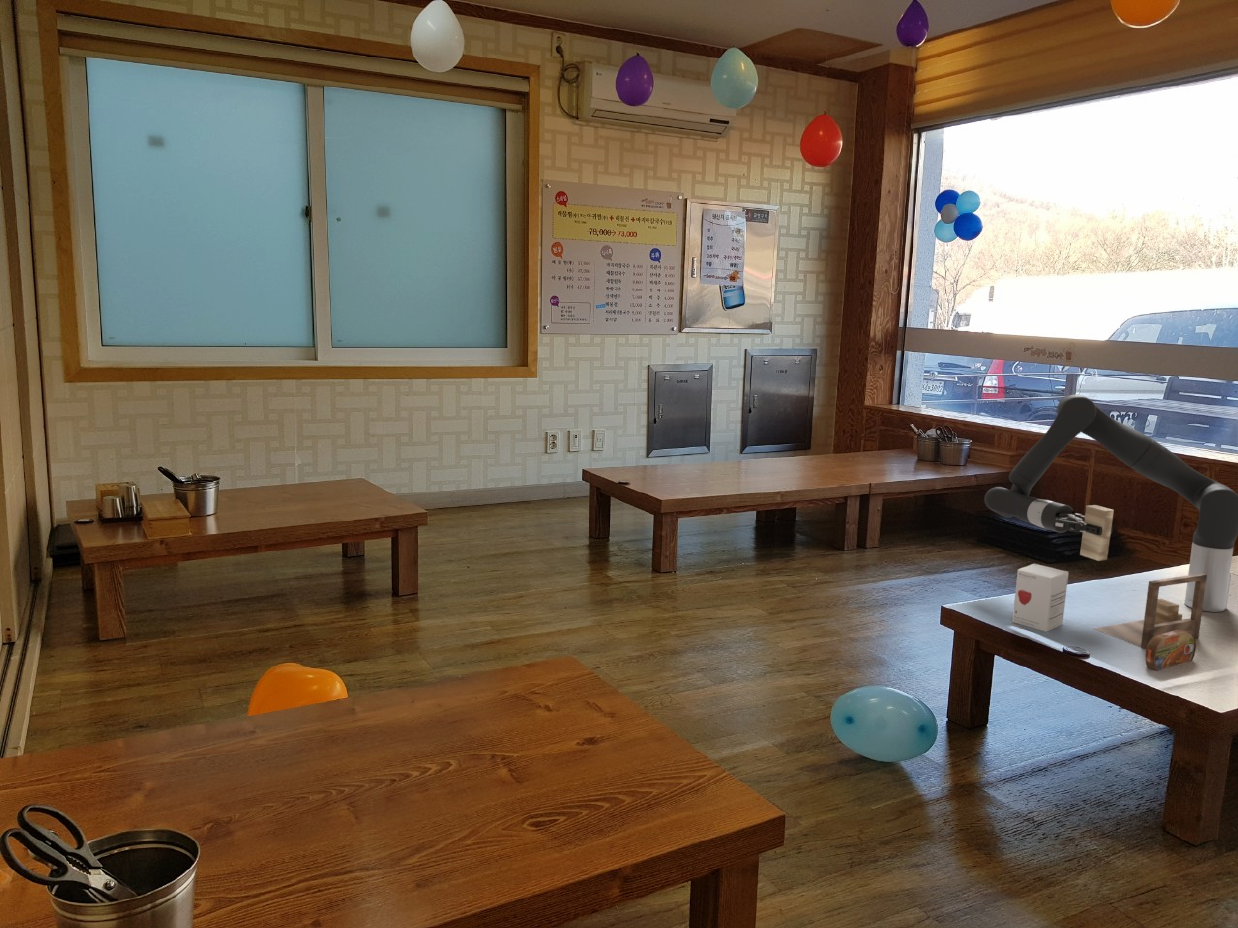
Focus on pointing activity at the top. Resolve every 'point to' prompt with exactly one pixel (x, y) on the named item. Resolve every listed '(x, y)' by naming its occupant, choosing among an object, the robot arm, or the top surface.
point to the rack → (1146, 628)
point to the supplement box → (1040, 597)
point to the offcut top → (1167, 607)
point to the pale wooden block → (1093, 543)
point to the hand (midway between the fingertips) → (1106, 530)
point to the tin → (1170, 649)
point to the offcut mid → (1167, 618)
